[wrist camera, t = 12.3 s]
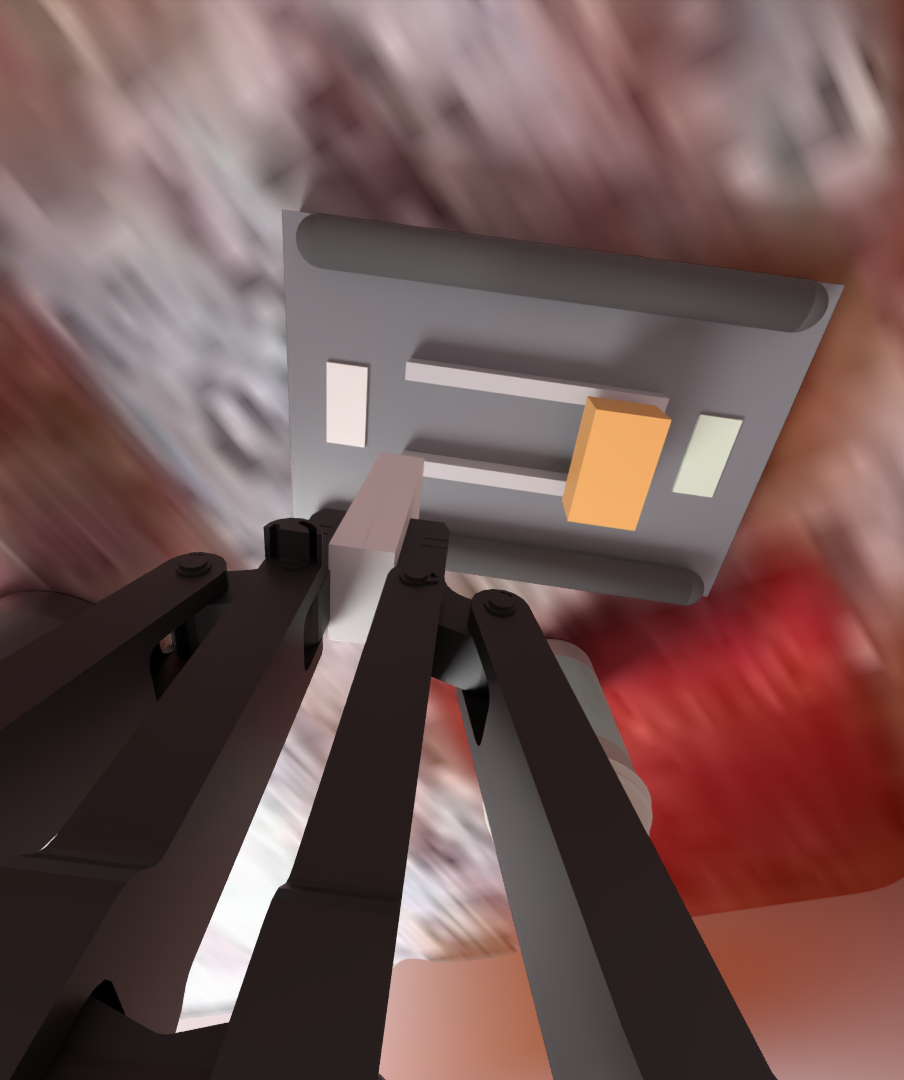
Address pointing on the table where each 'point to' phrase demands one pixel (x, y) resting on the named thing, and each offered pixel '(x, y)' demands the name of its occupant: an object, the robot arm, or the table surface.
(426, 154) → the table surface
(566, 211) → the table surface
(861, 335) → the table surface
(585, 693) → the coffee cup
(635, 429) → the lever
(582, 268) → the pair of grey bars
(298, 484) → the slide switch panel
